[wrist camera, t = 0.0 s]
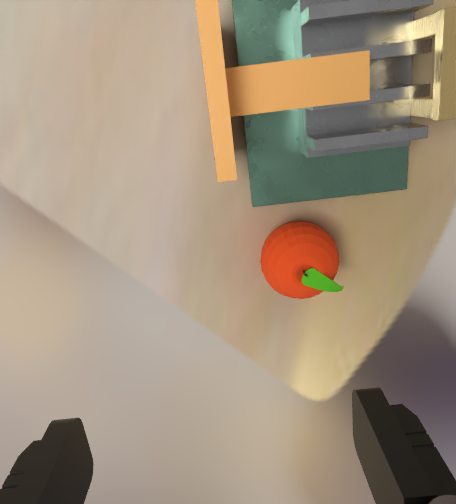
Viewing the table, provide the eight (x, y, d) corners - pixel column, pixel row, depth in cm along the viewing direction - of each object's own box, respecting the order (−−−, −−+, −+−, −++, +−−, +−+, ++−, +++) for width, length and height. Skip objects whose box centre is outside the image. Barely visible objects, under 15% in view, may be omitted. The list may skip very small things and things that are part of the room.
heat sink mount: (227, -47, 33) (229, -105, 24) (409, -71, 33) (489, -140, 23) (251, 204, 40) (262, 241, 30) (402, 186, 40) (462, 218, 30)
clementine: (351, 237, 42) (376, 265, 35) (313, 295, 44) (330, 331, 37) (280, 199, 40) (292, 220, 34) (244, 260, 42) (248, 292, 36)
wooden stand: (203, 27, 34) (194, -3, 23) (336, 10, 34) (392, -29, 23) (218, 155, 38) (217, 182, 27) (339, 141, 37) (389, 161, 26)
